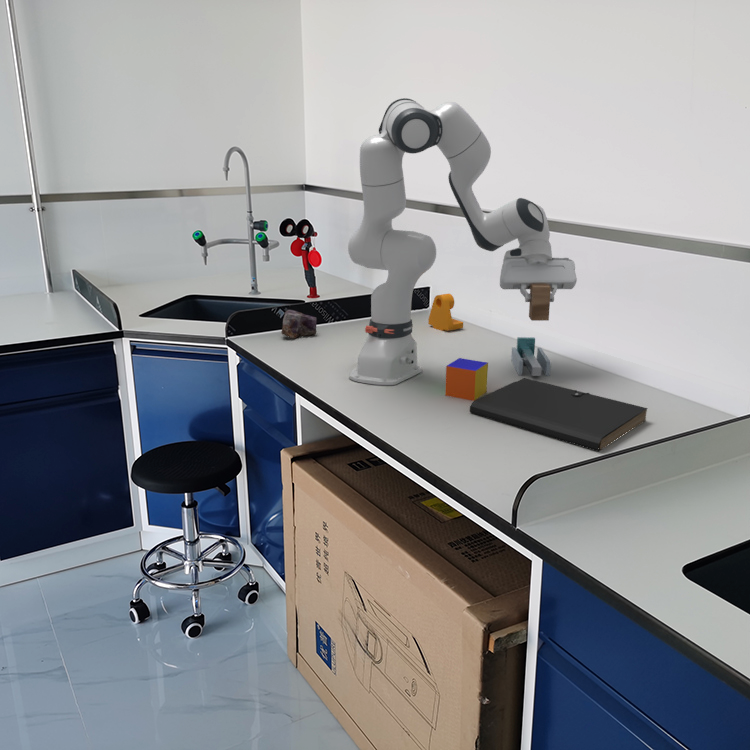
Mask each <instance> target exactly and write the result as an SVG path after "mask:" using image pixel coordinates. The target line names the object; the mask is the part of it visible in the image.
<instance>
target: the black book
mask: <svg viewBox="0 0 750 750" xmlns="http://www.w3.org/2000/svg"><path fill="white" fill-rule="evenodd" d="M469 412H470V414H472V415H473V414H474V415H476V416H480V417H483V418H487V419H490V420H493V421H496V422H500V423H501V424H502V423H503V424H507V425H510V426H512V427H516V428H519V429H523V430H526V431H530V432H533V433H536V434H539V435H544V436H546V437H549V438H552V437H553V438H552V439H556V438H557V439H556V440H559V439H560V440H559V441H562V440H564V441H563V442H566V441H567V442H566V443H569V442H571V443H570V444H572V443H575V444H578V445H577V446H579V445H581V446H580V447H582V446H584V447H583V448H585V447H588V448H587V449H589V448H591V449H590V450H592V449H594V450H593V451H595V450H598V451H597V452H600V450H599V449H602V448H603V447H605V446H607V445H608V444H610V443H611V442H613V441H614V440H616V439H617V438H619V437H620V436H622V435H623V434H625V433H626V432H628V431H629V430H631V429H632V428H634V427H636V426H637V425H639V424H640V425H642V424H643V423H644V422H643V421H645V422H646V421H647V417H646V416H647V412H648V408H647V407H644V406H639V405H636V404H632V403H627V402H624V401H619V400H616V399H611V398H607V397H603V396H600V395H596V394H593V393H592V394H591V393H590V392H583V391H579V390H577V389H571V388H567V387H563V386H559V385H555V384H551V383H547V382H543V381H540V380H539V381H538V380H534V379H531V378H526V377H523V378H521V379H518V380H517V381H513V382H511V383H509V384H507V385H504V386H502V387H500V388H498V389H495V390H494V391H492V392H489V393H487V394H486V395H485V394H484V395H482V396H480V397H479V398H478V399H476V400H475V401H472V402H471V404H470V405H469ZM642 422H643V423H642ZM641 423H642V424H641ZM640 425H639V426H640ZM637 427H638V426H637ZM637 427H636V428H637ZM634 429H635V428H634ZM631 431H632V430H631ZM628 433H629V432H628ZM625 435H626V434H625ZM622 437H623V436H622ZM619 439H620V438H619ZM616 441H617V440H616ZM613 443H614V442H613ZM575 444H574V445H575ZM611 444H612V443H611ZM611 444H610V445H611ZM608 446H609V445H608ZM608 446H607V447H608ZM598 448H599V449H598ZM605 448H606V447H605ZM602 450H603V449H602Z"/></svg>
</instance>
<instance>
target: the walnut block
mask: <svg viewBox="0 0 750 750" xmlns="http://www.w3.org/2000/svg"><path fill="white" fill-rule="evenodd" d="M529 290H530V291H529V294H531V297H532V300H531V302H529V305H528V308H529V309H528V317H529V319H530V320H531V321H532V322H533V321H539V322H541V321H546V322H547V321H548V322H549V320H550V309H551V308H550V304H551V302H550V293H552V292H551V287H550V286H549V285H548V284H531V286H530V289H529Z"/></svg>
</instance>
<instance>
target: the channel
mask: <svg viewBox="0 0 750 750" xmlns="http://www.w3.org/2000/svg"><path fill="white" fill-rule="evenodd" d="M536 352H537V353H536V359H537V361H538V362H539V364H540V366H541V367H542V369H541V371H543V373H544V376H550V375H551V374H550V373H551V372H550V371H551V360H550V359H549V357H548V355H546V353H545V351H544V350H543V348H542V347H537V350H536ZM510 358H511V359H510V361H511V363H512V365H513V367H514V369H515V371H516V373H517V375H518V376H523V368H524V367H527V366H526V364H525V362H524V360H523V359H522V358H521V357H520V355H519V353H518V351H517V347H514V346H512V347H511V356H510Z"/></svg>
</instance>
